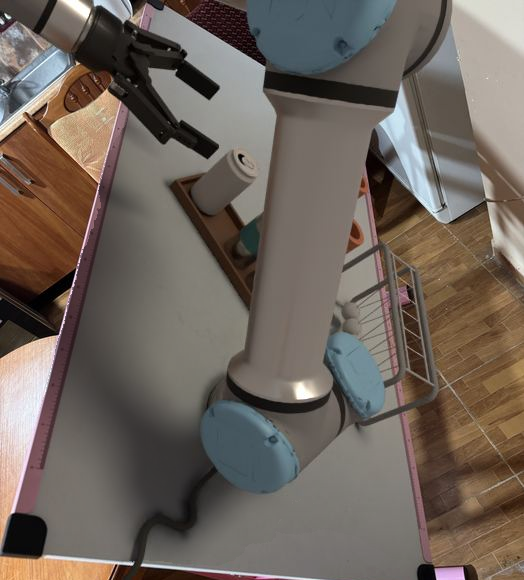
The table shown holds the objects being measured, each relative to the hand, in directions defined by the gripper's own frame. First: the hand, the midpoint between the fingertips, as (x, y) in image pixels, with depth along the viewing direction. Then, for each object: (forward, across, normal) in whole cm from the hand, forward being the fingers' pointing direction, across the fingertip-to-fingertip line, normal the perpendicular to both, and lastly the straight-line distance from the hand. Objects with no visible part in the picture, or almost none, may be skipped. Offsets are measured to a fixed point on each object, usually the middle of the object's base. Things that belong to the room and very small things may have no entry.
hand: (214, 121), depth 85 cm
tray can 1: (+17, +7, -15) cm, 23 cm away
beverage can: (+9, 0, -15) cm, 17 cm away
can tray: (+15, +6, -15) cm, 22 cm away
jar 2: (+43, -22, -15) cm, 50 cm away
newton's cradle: (+42, +18, -16) cm, 49 cm away
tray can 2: (+22, +12, -15) cm, 29 cm away
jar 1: (+38, -4, -15) cm, 41 cm away
